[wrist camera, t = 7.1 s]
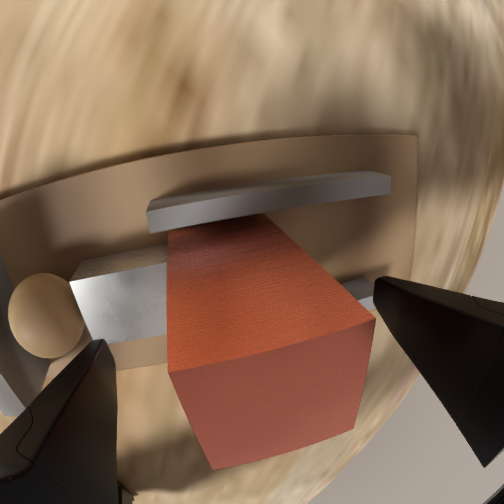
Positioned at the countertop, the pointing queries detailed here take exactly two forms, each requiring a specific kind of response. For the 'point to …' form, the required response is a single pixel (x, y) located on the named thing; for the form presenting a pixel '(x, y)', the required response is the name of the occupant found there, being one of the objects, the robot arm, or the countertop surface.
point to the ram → (239, 334)
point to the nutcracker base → (192, 214)
